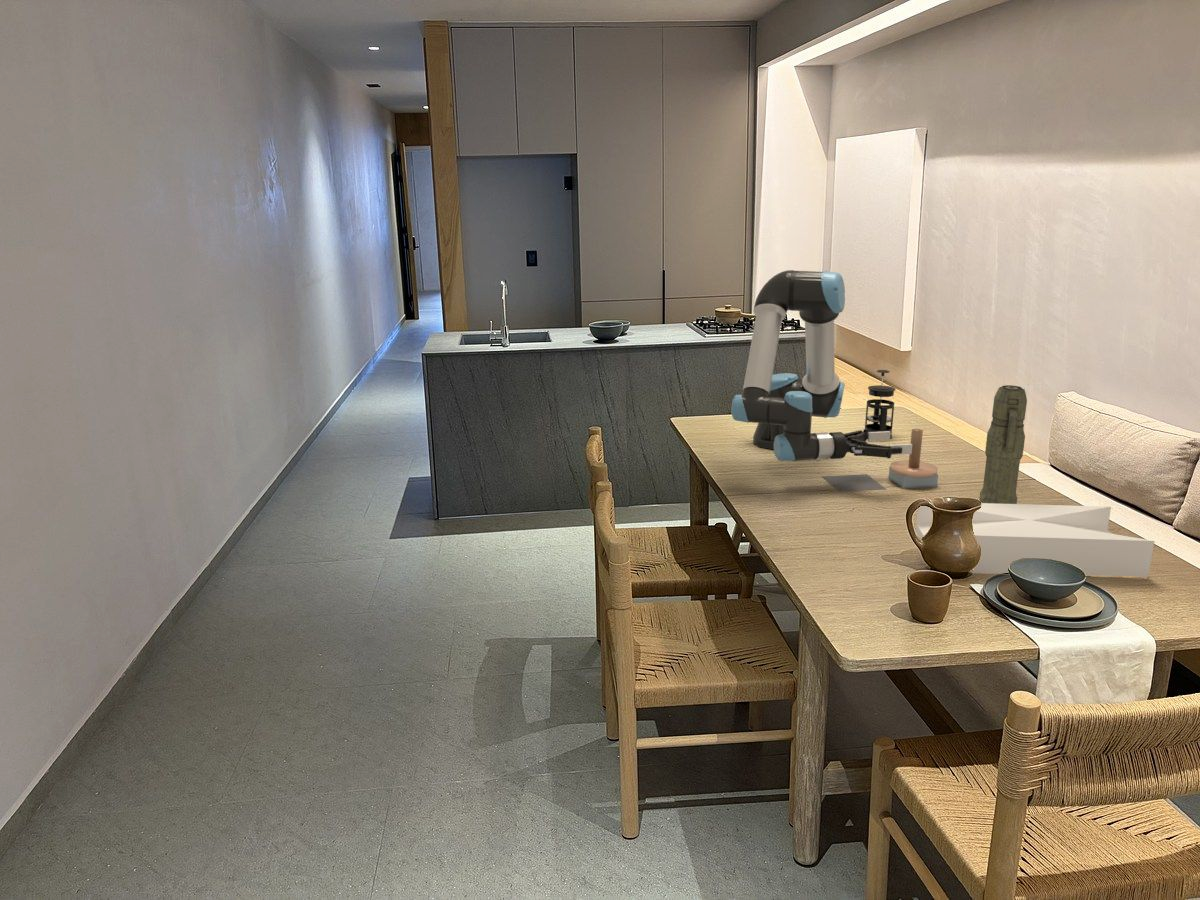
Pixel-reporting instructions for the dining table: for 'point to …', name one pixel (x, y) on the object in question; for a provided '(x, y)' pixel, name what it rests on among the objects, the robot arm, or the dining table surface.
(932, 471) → the lid
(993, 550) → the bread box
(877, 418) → the french press
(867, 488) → the mat
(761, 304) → the robot arm
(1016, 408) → the green carved statue
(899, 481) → the dish
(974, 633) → the dining table surface
